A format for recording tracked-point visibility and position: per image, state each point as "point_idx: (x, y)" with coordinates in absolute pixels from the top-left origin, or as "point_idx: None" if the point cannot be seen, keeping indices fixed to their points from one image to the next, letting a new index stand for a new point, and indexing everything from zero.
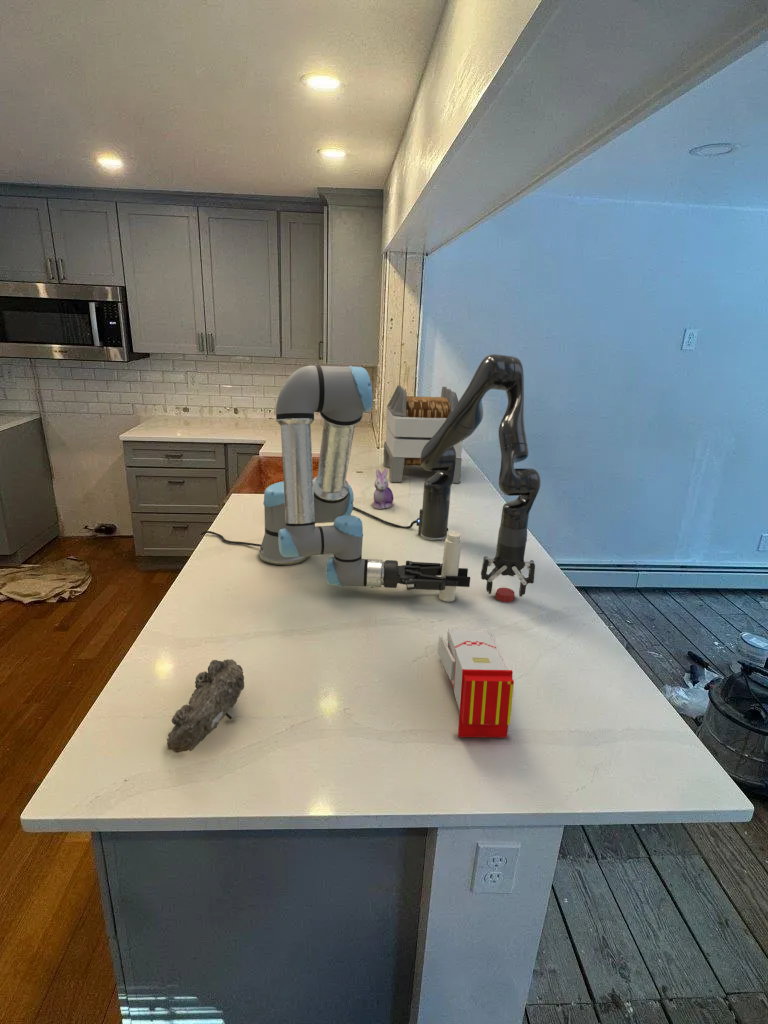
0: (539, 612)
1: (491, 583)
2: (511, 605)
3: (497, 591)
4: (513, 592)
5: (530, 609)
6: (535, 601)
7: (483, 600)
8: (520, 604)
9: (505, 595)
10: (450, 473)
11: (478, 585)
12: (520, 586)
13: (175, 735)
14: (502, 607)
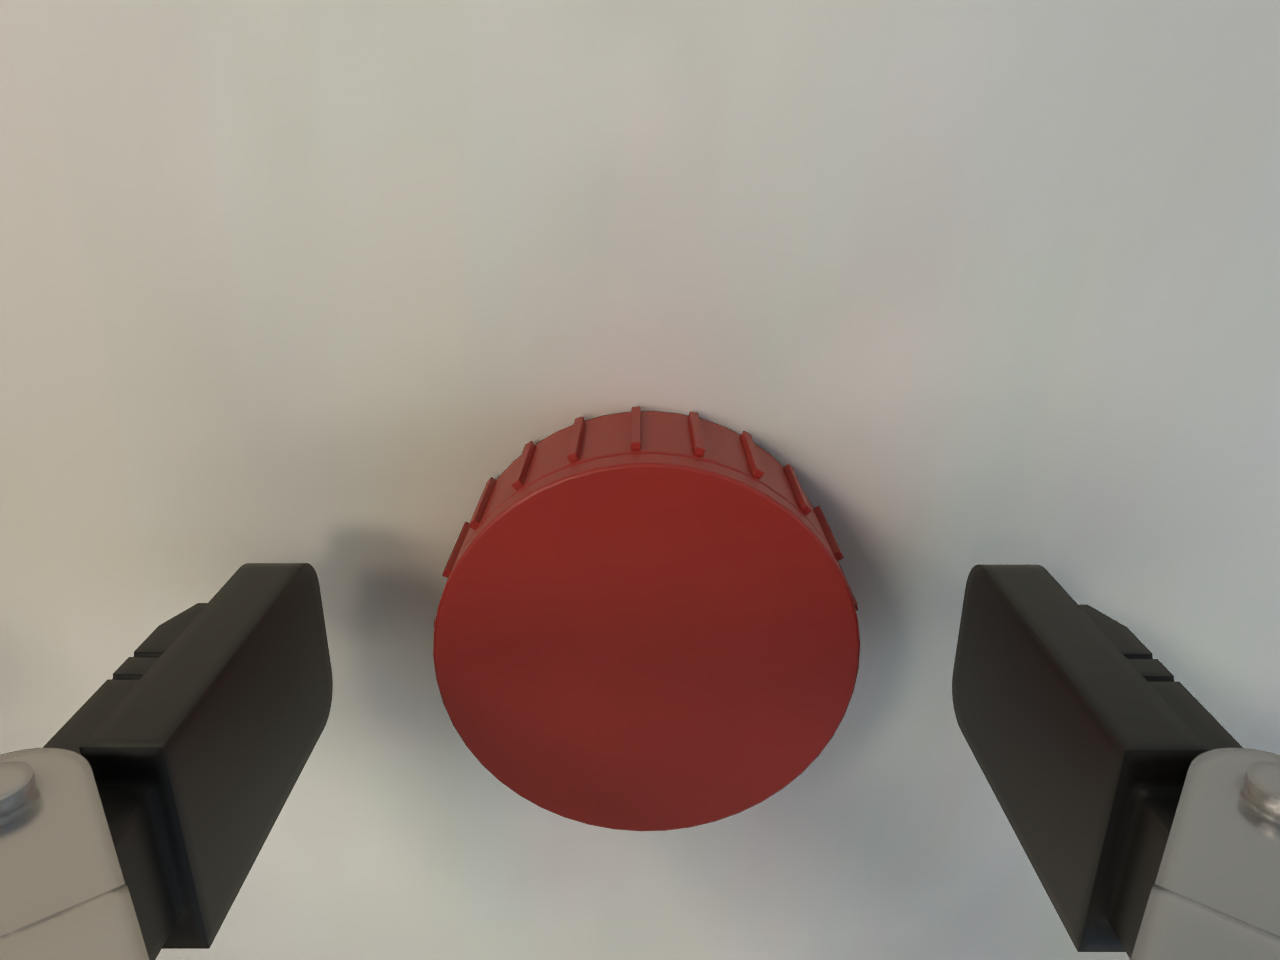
0: None
1: (191, 926)
2: (741, 818)
3: (455, 684)
4: (834, 670)
5: None
6: (1256, 611)
7: None
8: (916, 762)
9: (627, 825)
10: None
11: (15, 73)
12: (1052, 785)
13: None
14: (575, 898)
